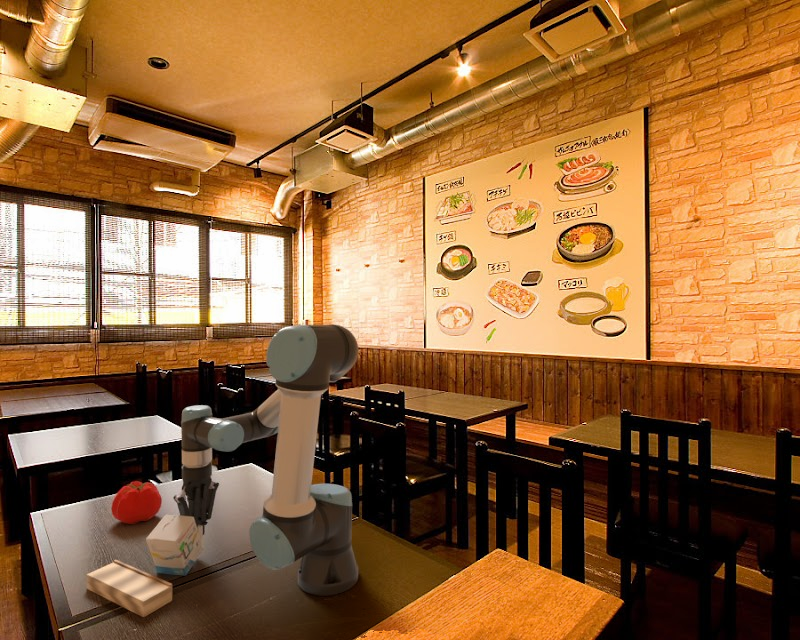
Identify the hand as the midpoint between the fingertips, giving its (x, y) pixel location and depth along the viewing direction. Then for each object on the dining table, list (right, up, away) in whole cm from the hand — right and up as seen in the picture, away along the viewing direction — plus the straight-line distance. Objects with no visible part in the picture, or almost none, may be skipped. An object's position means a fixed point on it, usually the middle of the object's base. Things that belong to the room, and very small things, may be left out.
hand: (197, 548), depth 129 cm
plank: (-9, -3, -17) cm, 20 cm away
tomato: (-29, -2, +23) cm, 37 cm away
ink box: (-2, -1, -5) cm, 5 cm away
